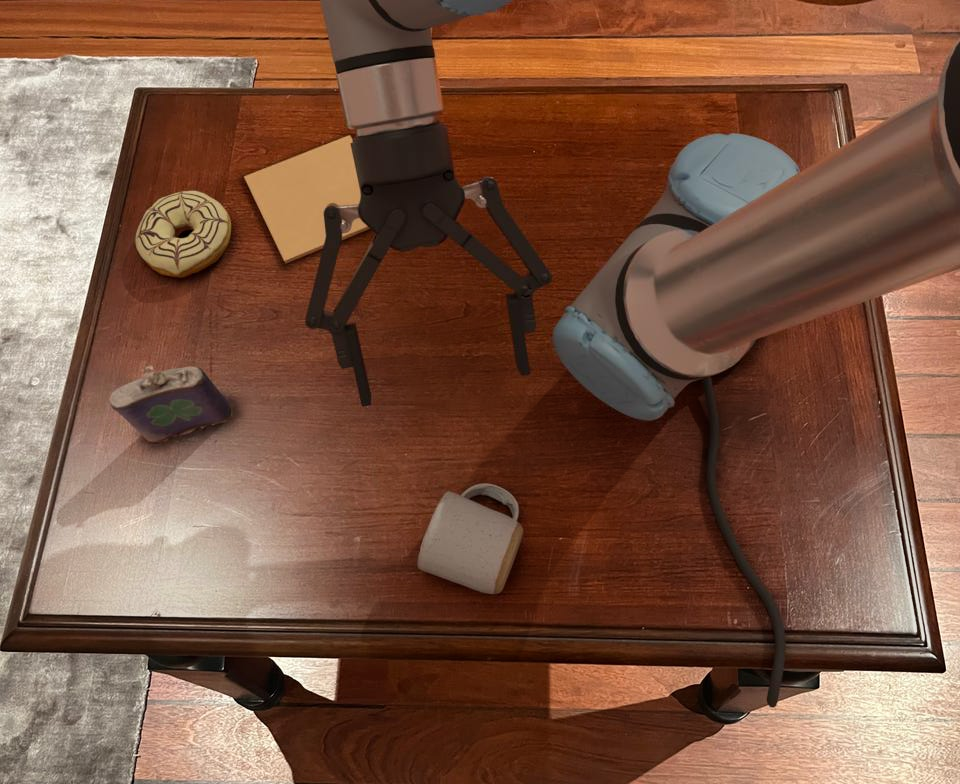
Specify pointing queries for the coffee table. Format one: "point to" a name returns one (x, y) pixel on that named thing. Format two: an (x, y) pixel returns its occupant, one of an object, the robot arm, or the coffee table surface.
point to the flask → (170, 403)
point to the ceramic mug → (472, 540)
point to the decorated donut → (176, 217)
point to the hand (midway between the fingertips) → (445, 386)
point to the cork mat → (306, 196)
